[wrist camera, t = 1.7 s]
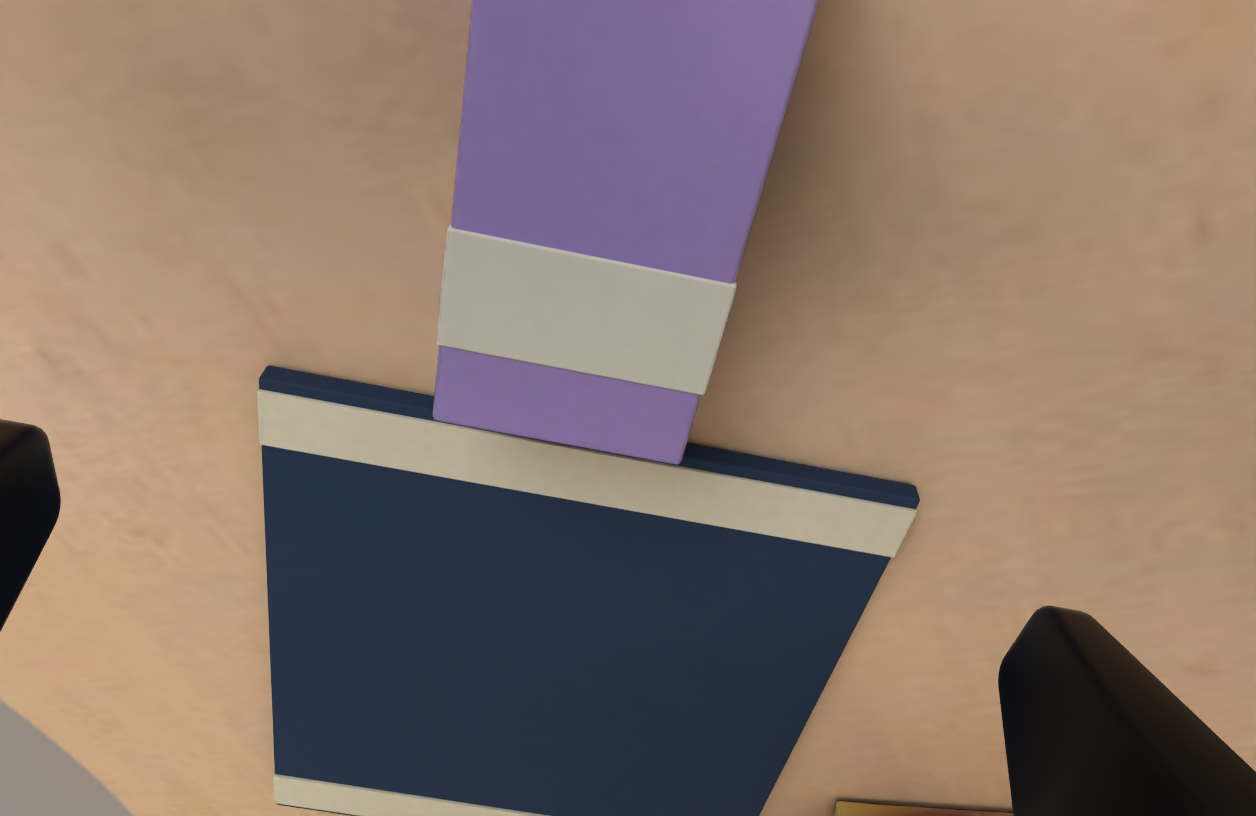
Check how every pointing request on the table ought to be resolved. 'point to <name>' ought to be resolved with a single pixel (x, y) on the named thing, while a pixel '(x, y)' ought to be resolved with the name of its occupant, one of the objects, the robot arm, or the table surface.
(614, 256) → the chocolate
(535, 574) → the towel
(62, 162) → the table surface
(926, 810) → the candy box
